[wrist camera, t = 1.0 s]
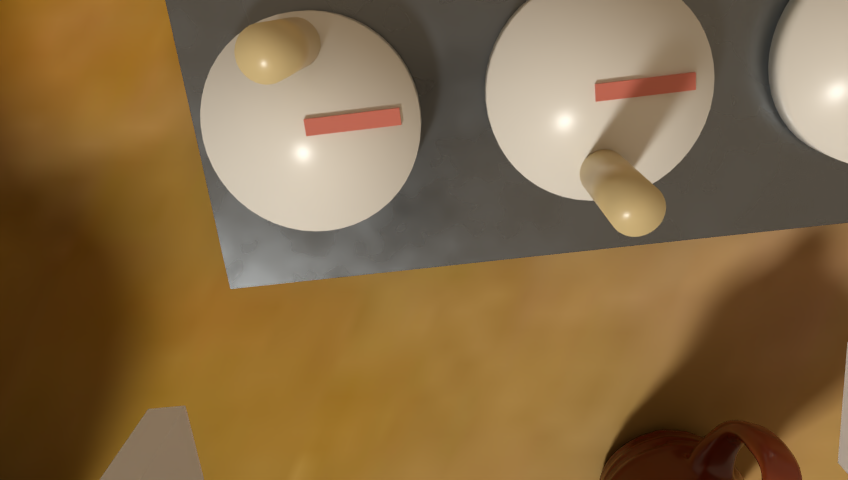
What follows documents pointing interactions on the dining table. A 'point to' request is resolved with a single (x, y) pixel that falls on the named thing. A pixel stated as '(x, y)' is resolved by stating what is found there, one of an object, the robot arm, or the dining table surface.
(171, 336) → the dining table surface
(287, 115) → the knob
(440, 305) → the dining table surface
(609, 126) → the knob middle
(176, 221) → the dining table surface
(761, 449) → the mug
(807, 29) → the knob
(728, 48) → the base plate
